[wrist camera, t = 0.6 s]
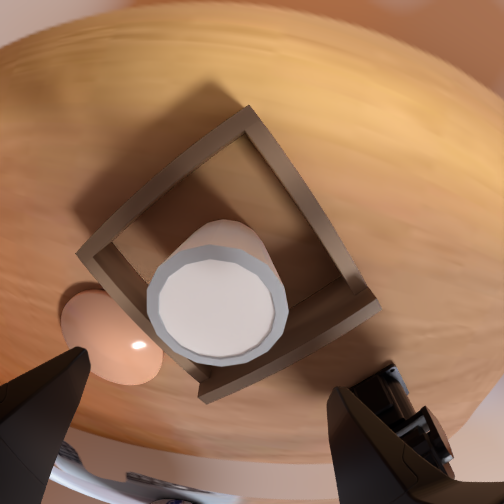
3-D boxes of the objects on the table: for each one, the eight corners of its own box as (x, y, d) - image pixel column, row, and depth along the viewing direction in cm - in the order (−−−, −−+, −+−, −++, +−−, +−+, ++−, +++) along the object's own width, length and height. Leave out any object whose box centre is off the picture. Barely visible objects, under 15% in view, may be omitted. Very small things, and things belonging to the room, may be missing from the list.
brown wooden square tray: (358, 278, 20) (382, 309, 16) (211, 365, 23) (206, 404, 19) (248, 111, 16) (249, 99, 12) (95, 239, 19) (63, 262, 15)
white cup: (254, 314, 21) (256, 380, 15) (166, 284, 20) (135, 343, 14) (291, 231, 19) (314, 276, 12) (193, 195, 18) (163, 222, 11)
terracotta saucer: (187, 355, 23) (186, 361, 22) (120, 390, 24) (117, 395, 24) (103, 266, 20) (99, 271, 19) (49, 321, 22) (45, 325, 21)
